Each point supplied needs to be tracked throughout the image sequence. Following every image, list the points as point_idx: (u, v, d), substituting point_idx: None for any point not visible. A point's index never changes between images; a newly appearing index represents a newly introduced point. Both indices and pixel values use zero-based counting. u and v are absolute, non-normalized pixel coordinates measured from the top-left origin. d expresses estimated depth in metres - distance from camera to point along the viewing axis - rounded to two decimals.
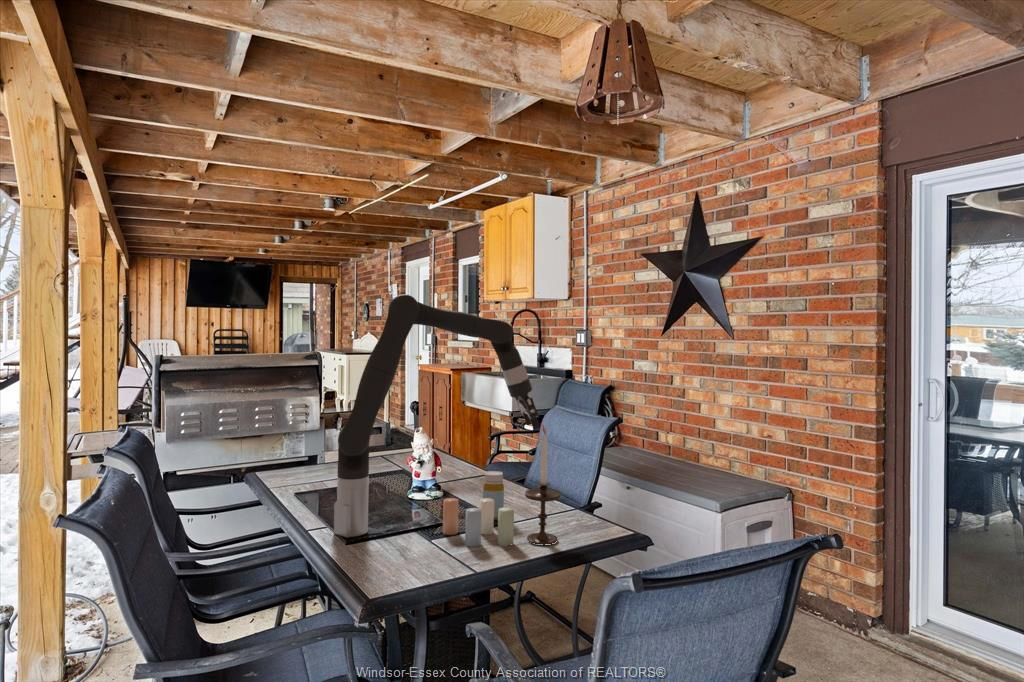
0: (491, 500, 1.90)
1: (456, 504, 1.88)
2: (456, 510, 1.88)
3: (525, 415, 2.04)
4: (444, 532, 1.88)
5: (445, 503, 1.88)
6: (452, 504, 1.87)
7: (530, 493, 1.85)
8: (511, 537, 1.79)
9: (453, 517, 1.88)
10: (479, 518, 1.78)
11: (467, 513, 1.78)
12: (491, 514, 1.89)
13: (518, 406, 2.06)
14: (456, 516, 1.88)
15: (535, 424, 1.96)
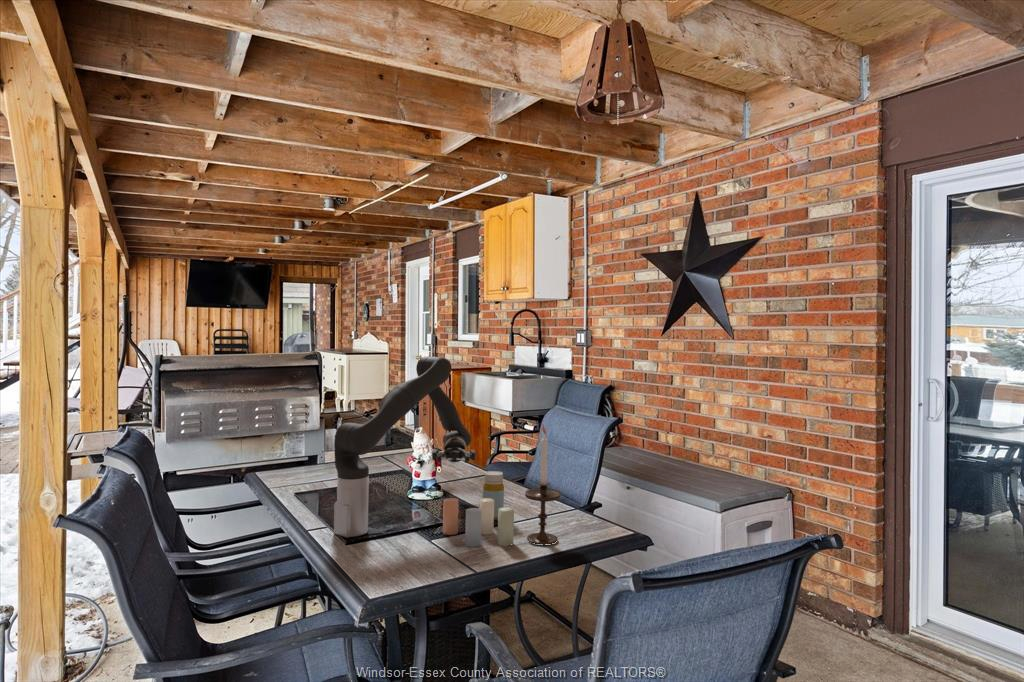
0: (491, 500, 1.90)
1: (456, 504, 1.88)
2: (456, 510, 1.88)
3: (441, 455, 2.03)
4: (444, 532, 1.88)
5: (445, 503, 1.88)
6: (452, 504, 1.87)
7: (530, 493, 1.85)
8: (511, 537, 1.79)
9: (453, 517, 1.88)
10: (479, 518, 1.78)
11: (467, 513, 1.78)
12: (491, 514, 1.89)
13: (434, 451, 2.06)
14: (456, 516, 1.88)
15: (469, 457, 2.02)
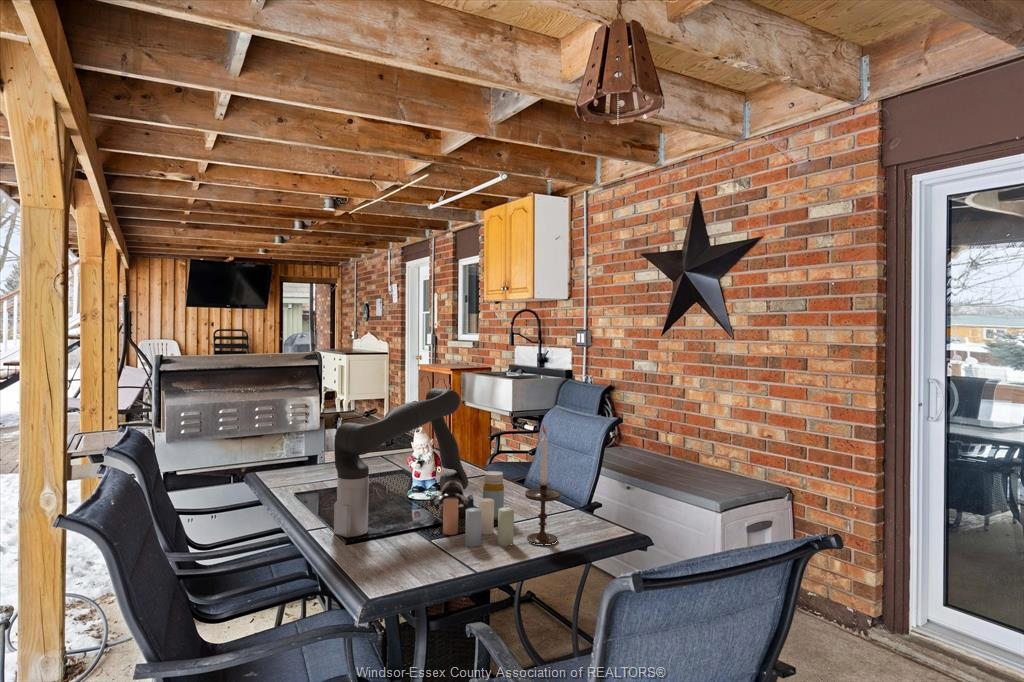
0: (491, 500, 1.90)
1: (456, 504, 1.88)
2: (456, 510, 1.88)
3: (439, 502, 1.99)
4: (444, 532, 1.88)
5: (445, 503, 1.88)
6: (453, 504, 1.87)
7: (530, 493, 1.85)
8: (511, 537, 1.79)
9: (453, 517, 1.88)
10: (479, 518, 1.78)
11: (467, 513, 1.78)
12: (491, 514, 1.89)
13: (431, 497, 2.02)
14: (456, 516, 1.88)
15: (467, 504, 1.98)
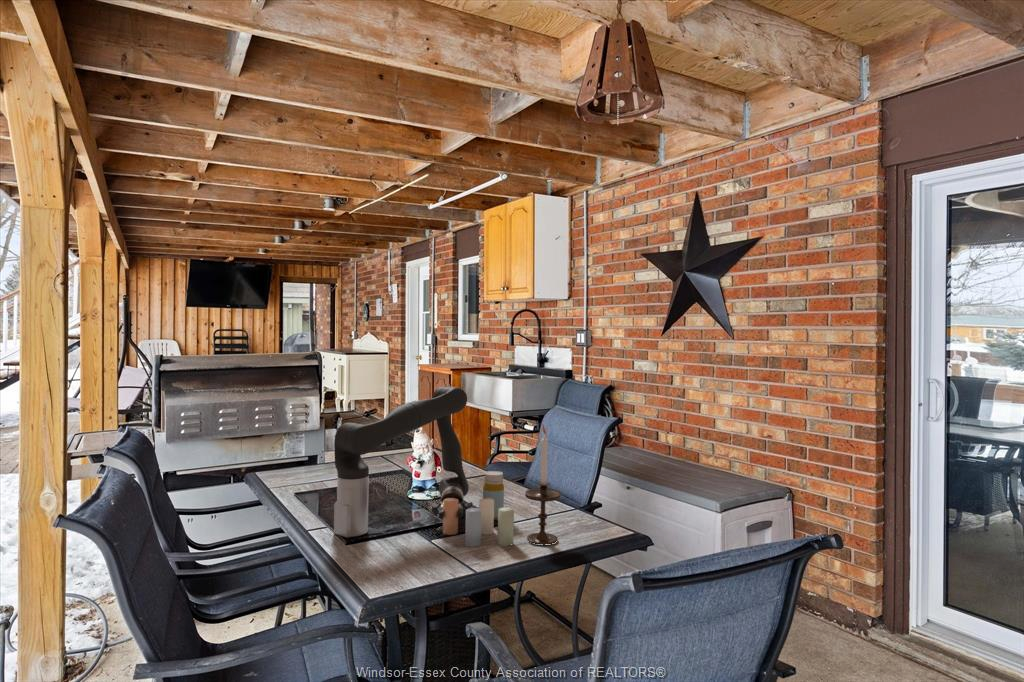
0: (491, 500, 1.90)
1: (456, 504, 1.88)
2: (456, 510, 1.88)
3: None
4: (444, 532, 1.88)
5: (445, 503, 1.88)
6: (452, 504, 1.87)
7: (530, 493, 1.85)
8: (511, 537, 1.79)
9: (453, 517, 1.88)
10: (479, 518, 1.78)
11: (467, 513, 1.78)
12: (491, 514, 1.89)
13: (434, 505, 1.93)
14: (456, 515, 1.88)
15: (462, 513, 1.89)
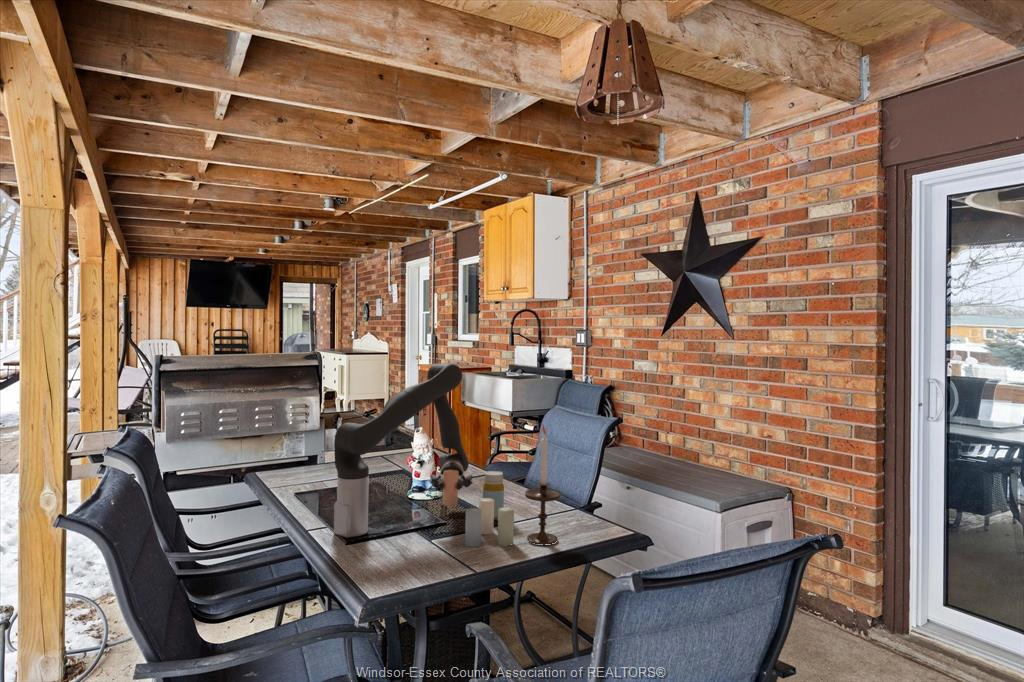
0: (491, 500, 1.90)
1: (456, 475, 1.88)
2: (456, 481, 1.88)
3: None
4: (444, 503, 1.88)
5: (445, 474, 1.87)
6: (452, 475, 1.87)
7: (530, 493, 1.85)
8: (511, 537, 1.79)
9: (453, 488, 1.87)
10: (479, 518, 1.78)
11: (467, 513, 1.78)
12: (491, 514, 1.89)
13: (433, 477, 1.93)
14: (456, 487, 1.88)
15: (462, 484, 1.88)
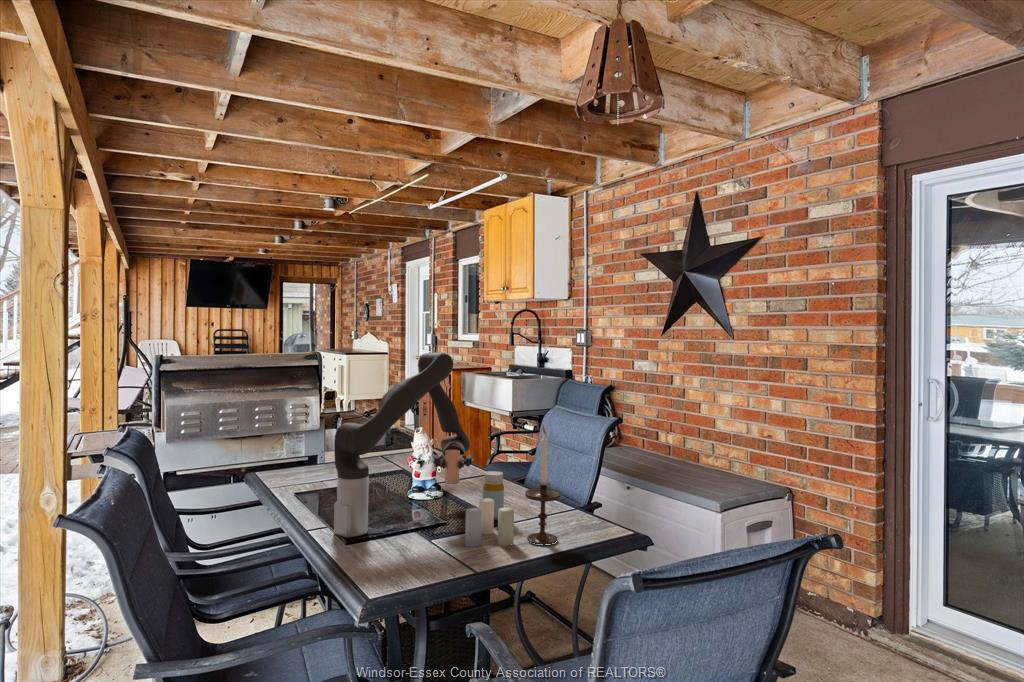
0: (491, 500, 1.90)
1: (457, 454, 1.94)
2: (457, 460, 1.94)
3: None
4: (446, 482, 1.94)
5: (447, 453, 1.94)
6: (454, 454, 1.93)
7: (530, 493, 1.85)
8: (511, 537, 1.79)
9: (455, 467, 1.94)
10: (479, 518, 1.78)
11: (467, 513, 1.78)
12: (491, 514, 1.89)
13: (436, 457, 1.99)
14: (457, 466, 1.94)
15: (463, 463, 1.95)
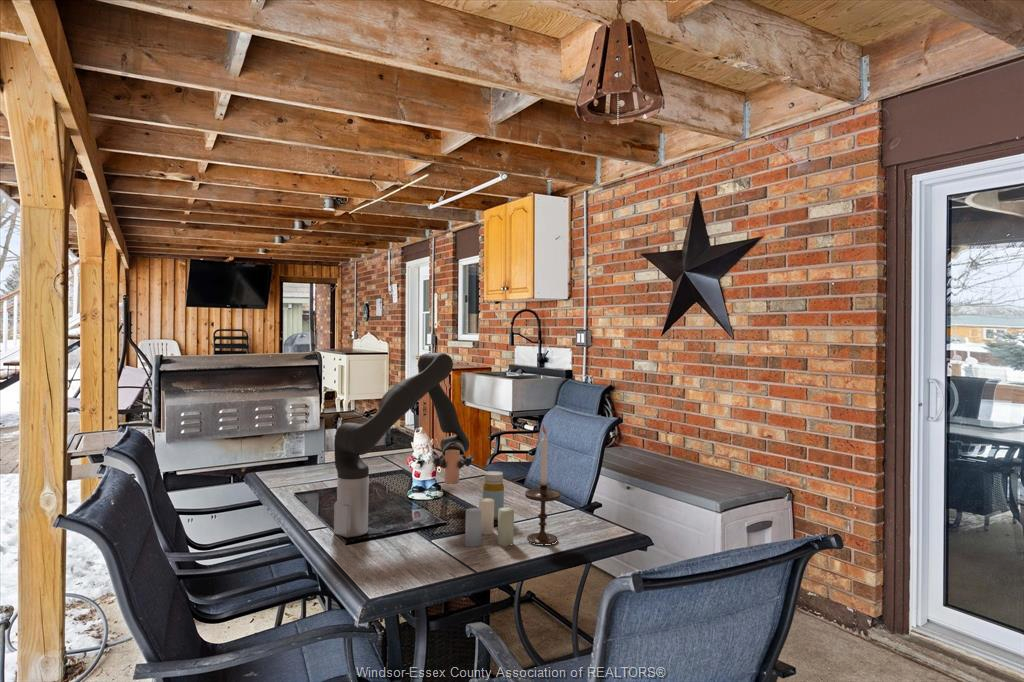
0: (491, 500, 1.90)
1: (457, 454, 1.94)
2: (457, 460, 1.95)
3: None
4: (446, 481, 1.94)
5: (447, 453, 1.94)
6: (454, 454, 1.94)
7: (530, 493, 1.85)
8: (511, 537, 1.79)
9: (455, 467, 1.94)
10: (479, 518, 1.78)
11: (467, 513, 1.78)
12: (491, 514, 1.89)
13: (436, 457, 1.99)
14: (457, 466, 1.95)
15: (463, 463, 1.95)
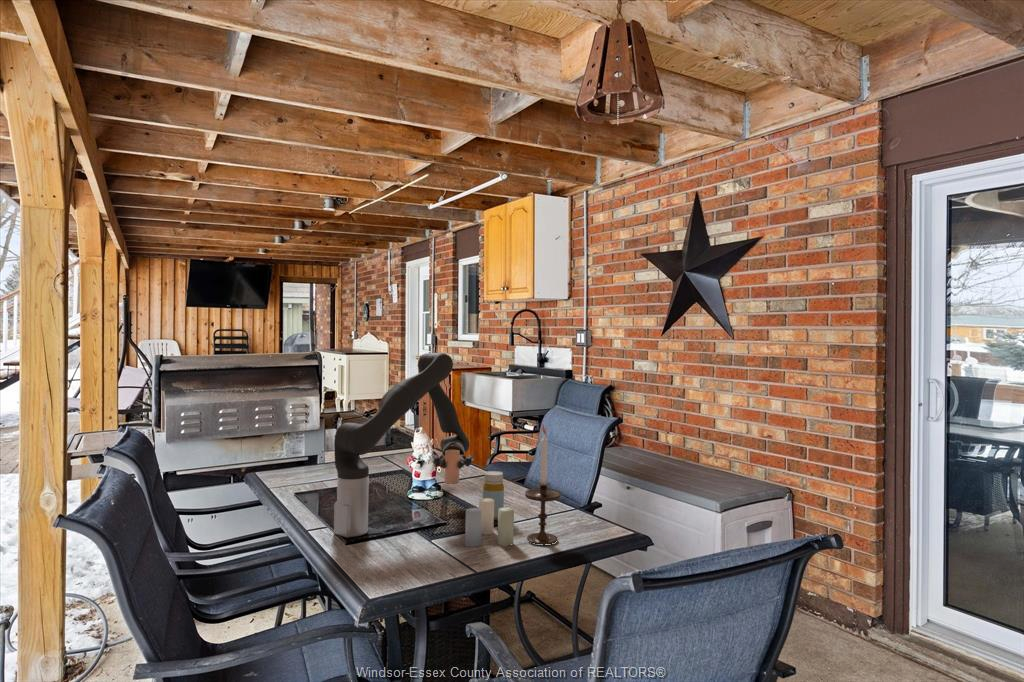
0: (491, 500, 1.90)
1: (457, 454, 1.94)
2: (457, 460, 1.95)
3: None
4: (446, 481, 1.94)
5: (447, 453, 1.94)
6: (454, 454, 1.94)
7: (530, 493, 1.85)
8: (511, 537, 1.79)
9: (455, 467, 1.94)
10: (479, 518, 1.78)
11: (467, 513, 1.78)
12: (491, 514, 1.89)
13: (436, 457, 1.99)
14: (457, 466, 1.95)
15: (463, 463, 1.95)
